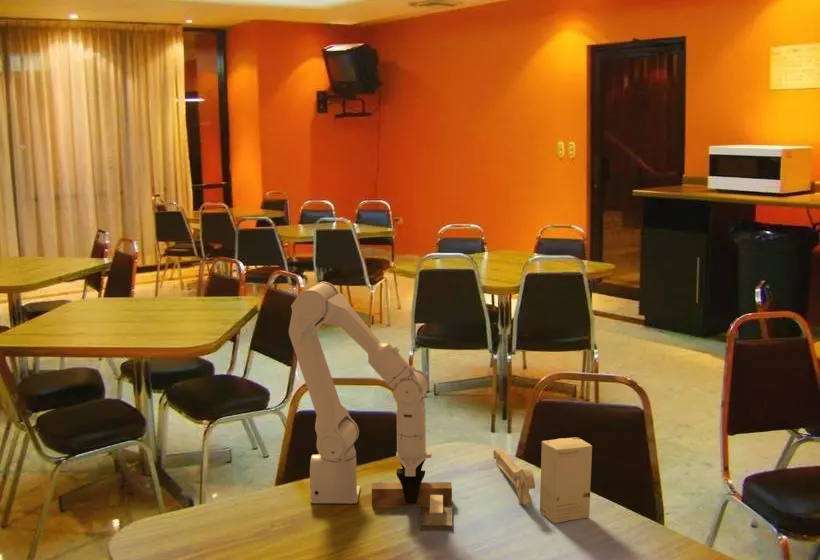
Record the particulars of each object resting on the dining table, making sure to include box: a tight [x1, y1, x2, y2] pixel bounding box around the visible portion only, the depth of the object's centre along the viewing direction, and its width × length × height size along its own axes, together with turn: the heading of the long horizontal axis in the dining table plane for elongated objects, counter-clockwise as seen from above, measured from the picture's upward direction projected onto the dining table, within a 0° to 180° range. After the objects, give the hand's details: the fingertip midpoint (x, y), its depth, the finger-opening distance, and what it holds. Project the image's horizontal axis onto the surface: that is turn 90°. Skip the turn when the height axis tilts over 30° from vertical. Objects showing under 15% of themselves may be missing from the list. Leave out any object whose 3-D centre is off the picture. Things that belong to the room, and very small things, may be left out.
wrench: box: [492, 448, 536, 506], centre depth 189 cm, size 8×2×30 cm
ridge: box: [419, 495, 453, 531], centre depth 173 cm, size 6×8×4 cm
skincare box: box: [539, 436, 593, 525], centre depth 174 cm, size 8×6×15 cm
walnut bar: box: [371, 481, 453, 508], centre depth 181 cm, size 16×3×4 cm, turn 90°
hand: (411, 496), depth 181 cm, fingers open, 6 cm apart
